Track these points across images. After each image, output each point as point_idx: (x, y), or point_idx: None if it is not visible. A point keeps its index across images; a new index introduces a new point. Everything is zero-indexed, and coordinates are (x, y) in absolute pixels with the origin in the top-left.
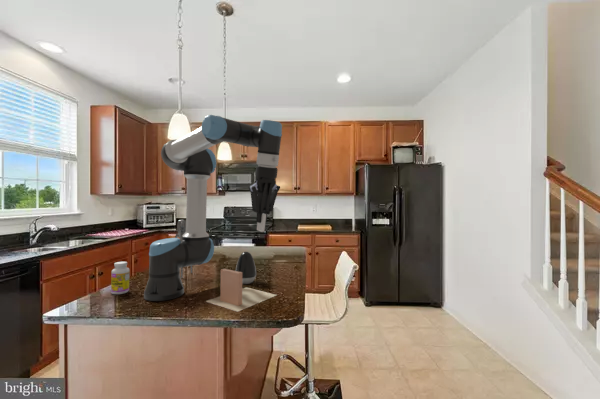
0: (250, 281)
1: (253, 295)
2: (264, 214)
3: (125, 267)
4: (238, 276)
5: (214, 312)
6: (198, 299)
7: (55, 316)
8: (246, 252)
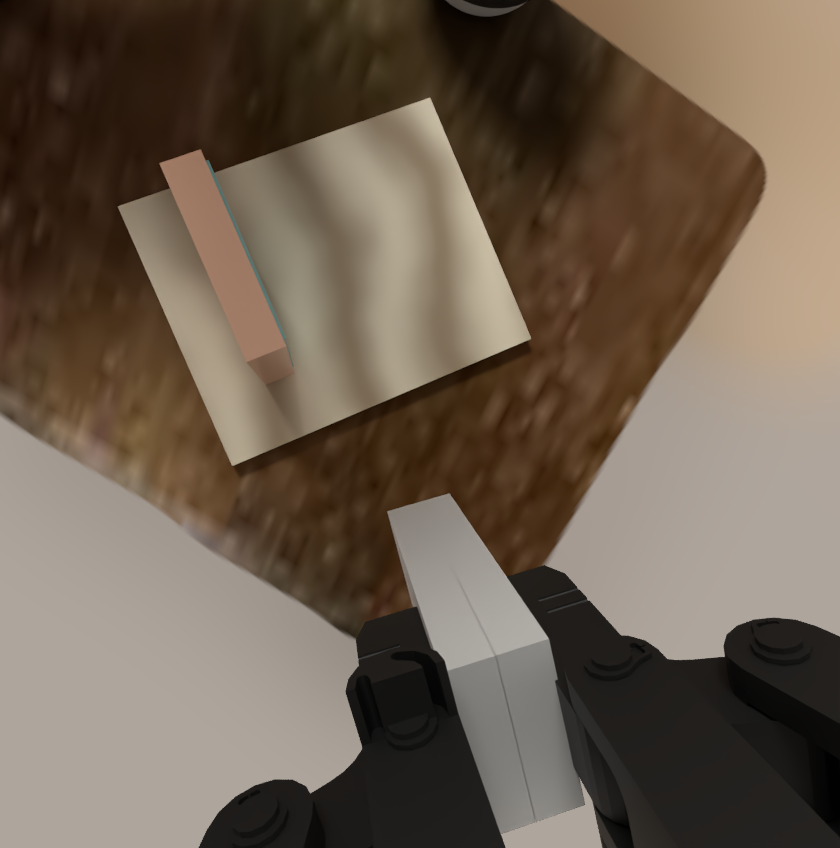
0: (492, 15)
1: (407, 269)
2: (529, 821)
3: None
4: (249, 365)
5: (129, 378)
6: (101, 119)
7: None
8: None
